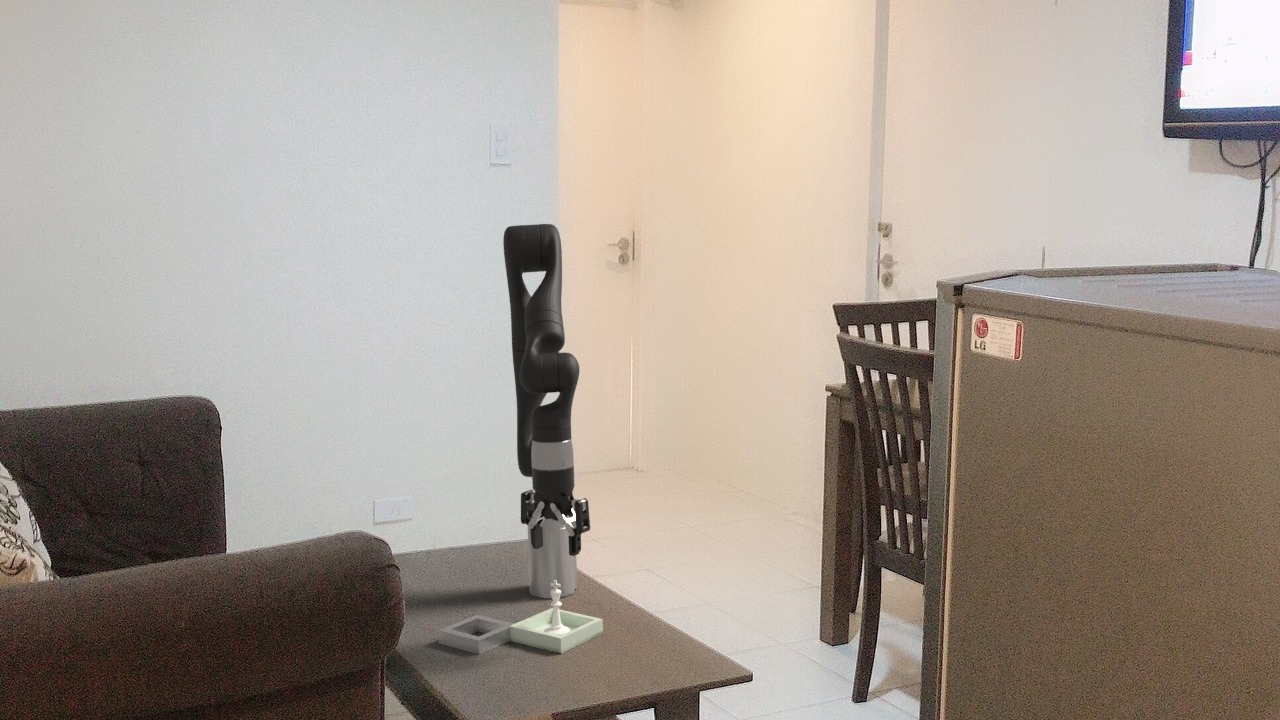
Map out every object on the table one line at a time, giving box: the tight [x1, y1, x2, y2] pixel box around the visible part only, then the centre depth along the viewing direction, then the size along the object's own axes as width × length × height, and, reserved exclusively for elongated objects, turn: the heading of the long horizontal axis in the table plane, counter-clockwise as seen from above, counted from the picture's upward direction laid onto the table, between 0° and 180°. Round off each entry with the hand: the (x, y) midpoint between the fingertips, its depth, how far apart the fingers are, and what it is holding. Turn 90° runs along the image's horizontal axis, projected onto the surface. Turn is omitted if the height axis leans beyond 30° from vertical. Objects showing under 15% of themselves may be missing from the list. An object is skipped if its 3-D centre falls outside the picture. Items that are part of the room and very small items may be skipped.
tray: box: [509, 607, 604, 655], centre depth 211 cm, size 12×12×3 cm
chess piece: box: [544, 580, 570, 636], centre depth 210 cm, size 5×5×10 cm
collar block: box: [438, 614, 514, 655], centre depth 210 cm, size 10×10×2 cm
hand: (555, 551), depth 209 cm, fingers open, 8 cm apart
